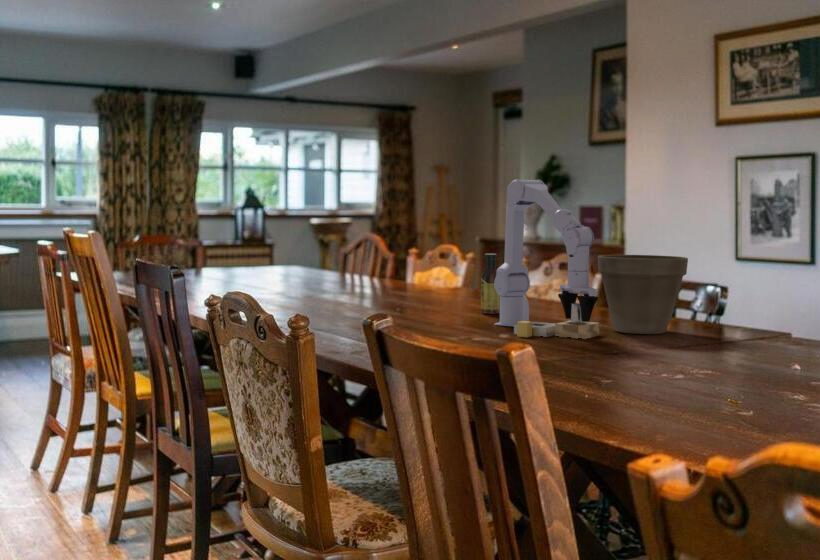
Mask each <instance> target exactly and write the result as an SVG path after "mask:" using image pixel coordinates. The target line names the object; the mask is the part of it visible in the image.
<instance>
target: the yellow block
mask: <svg viewBox="0 0 820 560" xmlns="http://www.w3.org/2000/svg"><path fill="white" fill-rule="evenodd" d="M532 322H533V321H530V320H529V321H520V322H517V334H516V337H517V338H519V337H520V338H530V337H533V336H532Z"/></svg>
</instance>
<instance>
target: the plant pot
mask: <svg viewBox="0 0 820 560" xmlns="http://www.w3.org/2000/svg"><path fill="white" fill-rule="evenodd" d="M688 261H689V258H688V257H685V256H678V255H677V256H676V255H675V256H674V255H673V256H672V255H657V254H654V255H653V254H652V255H651V254H603V255H598V256H597V268H598V269H597V270H598V274H601V279H602V283H603V287H604V292H605V296H606V301H607V306H608V309H609V314H610V320H611V324H612V327H613V330H614V331H615V332H619V333H625V334H631V335H632V334H633V335H635V334H636V335H660V334H665V333H666V332H667V330H668V327H669V324H670V321H671V319H672V315H673V312H674V309H675V306H676V303H677V302H676V301H677V299H678V295H679V292H680V289H681V286H682V282H683V277H684V276H686V275H687V272H688V271H687V270H688V264H689V263H688Z"/></svg>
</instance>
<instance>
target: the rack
mask: <svg viewBox="0 0 820 560" xmlns="http://www.w3.org/2000/svg"><path fill="white" fill-rule="evenodd" d="M554 324H555V335H554V336H555V337H556V336H559V337H558V338H567V337H571V339H578V338H582V340H587V338H588V339H591V338H595V337H598V336H600V322H596V321H595V322H593V321H589V322H583V325H578V324H571V319H570V320H567V321H566V320H565V321H562V322H557V323H554Z"/></svg>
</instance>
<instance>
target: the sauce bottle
mask: <svg viewBox="0 0 820 560" xmlns="http://www.w3.org/2000/svg"><path fill="white" fill-rule="evenodd" d="M483 257H484V258H483V259H484V268H483V272H482V274H481V277H480V308H481V313H482V314H483V315H484V314H485V315H496V314H500V296H499V295H498V293H497V292H496V290H495V287H494V281H495V278H496V274H497V269H498V268H497V258H498V254H497V253H484V256H483Z"/></svg>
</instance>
